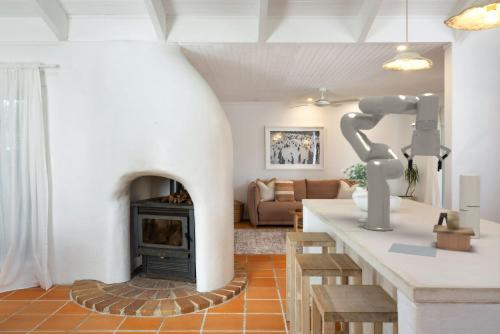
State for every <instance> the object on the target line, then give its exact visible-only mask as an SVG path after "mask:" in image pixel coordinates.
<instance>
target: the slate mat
mask: <svg viewBox="0 0 500 334" xmlns="http://www.w3.org/2000/svg"><path fill="white" fill-rule="evenodd" d="M437 249H438V248H437V247H434V246H425V245H414V244H405V243H395V242H393V243H392V245H391V246H390V247H389V248H388V250H387V252H389V253H397V254H405V255H414V256H421V257H431V258H436V257H437Z"/></svg>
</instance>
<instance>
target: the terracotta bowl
mask: <svg viewBox="0 0 500 334" xmlns="http://www.w3.org/2000/svg"><path fill="white" fill-rule="evenodd" d="M436 247H438V248H441V249H444V250H449V251H458V252H462V251H464V252H465V251H470V250H471V238H470V236H468V235H456V234H445V233H436Z"/></svg>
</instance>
